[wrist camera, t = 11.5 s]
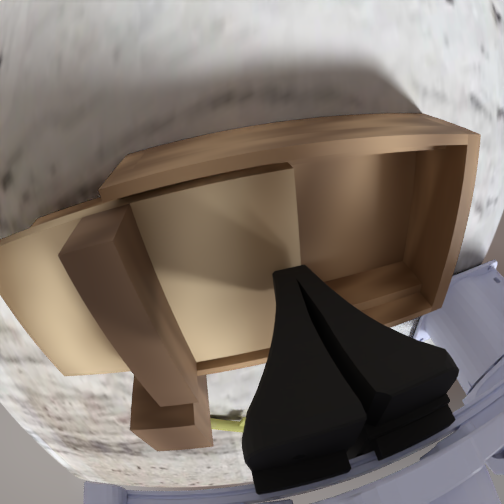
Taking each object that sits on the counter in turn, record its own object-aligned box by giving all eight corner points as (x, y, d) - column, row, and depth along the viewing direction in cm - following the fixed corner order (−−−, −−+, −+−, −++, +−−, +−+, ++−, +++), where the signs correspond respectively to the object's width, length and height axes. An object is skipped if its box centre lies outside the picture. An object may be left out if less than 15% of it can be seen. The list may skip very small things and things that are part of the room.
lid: (287, 161, 11) (319, 196, 8) (299, 328, 16) (317, 377, 13) (-16, 246, 10) (-49, 288, 7) (66, 366, 15) (56, 409, 12)
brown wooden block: (190, 333, 20) (194, 425, 14) (205, 365, 22) (213, 446, 16) (137, 342, 20) (130, 430, 14) (158, 372, 22) (157, 451, 16)
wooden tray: (423, 113, 14) (480, 134, 10) (406, 266, 20) (441, 307, 16) (26, 191, 12) (-18, 234, 9) (101, 333, 19) (90, 387, 15)
